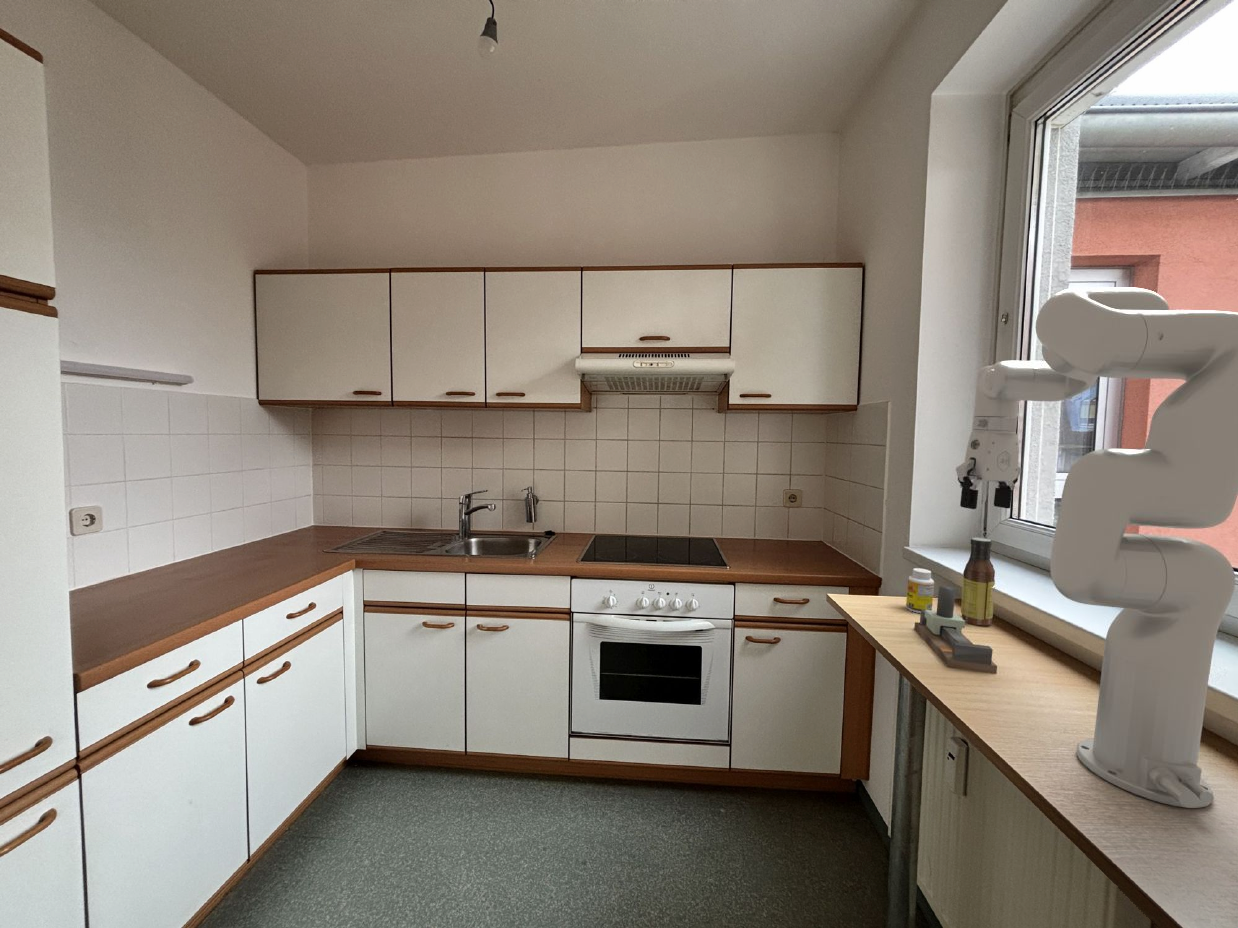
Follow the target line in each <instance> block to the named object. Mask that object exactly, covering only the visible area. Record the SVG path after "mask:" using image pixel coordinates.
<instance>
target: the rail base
mask: <svg viewBox="0 0 1238 928" xmlns="http://www.w3.org/2000/svg"><path fill="white" fill-rule="evenodd" d="M926 622H927V618H926V617H925V610H921V614H920V618H919V622H918V621H916V622H915V621H914V630H915V631H916V632H917V634H919V636H920V637H921V638H922V640H923V641H925V643H926V644H928V645H927V646H929V647H930V648H931V649H932V651H933V652H934V653H935V654H936V655H937V656H938V658H939V659H940V660H941V661H942V662H943V663H944V664H945V666H947V668H950V669H956V670H966V671H972V672H974V671H975V672H980V673H985V674H986V673H989V674H997V673H998V672H997V670H998V665H997V664H996V663H995V662H994V661H992V658H993V648H992V647H991V646H990V645H983V644H974V643H973V642H972V641H971V640H970V639H969V638H967V637H966V635H965V634H964V633H962V632H961V635H960V634H959V633H958V632H957V631H956V630H955V629H954V628H953V627H949V626H940V635H937V634H934V633H933V632H932V631H931V630H930V629H929V628H928V627H927V626H926Z"/></svg>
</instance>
